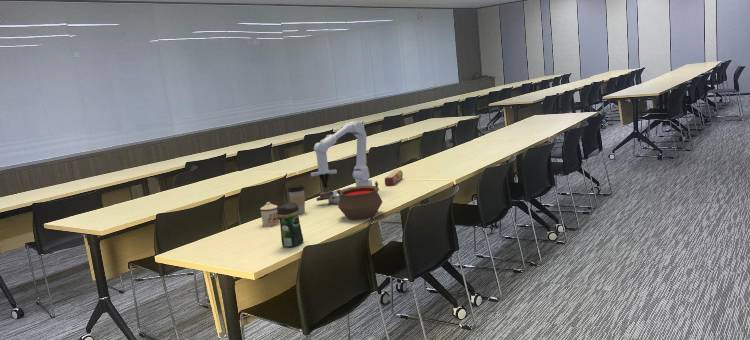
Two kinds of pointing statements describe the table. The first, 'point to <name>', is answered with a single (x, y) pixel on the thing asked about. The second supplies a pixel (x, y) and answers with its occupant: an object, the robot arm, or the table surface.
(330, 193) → the lid
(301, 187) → the coffee cup
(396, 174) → the snack package
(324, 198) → the pot
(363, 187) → the brown cauldron
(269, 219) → the teacup with lid
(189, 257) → the table surface
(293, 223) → the coffee jar
